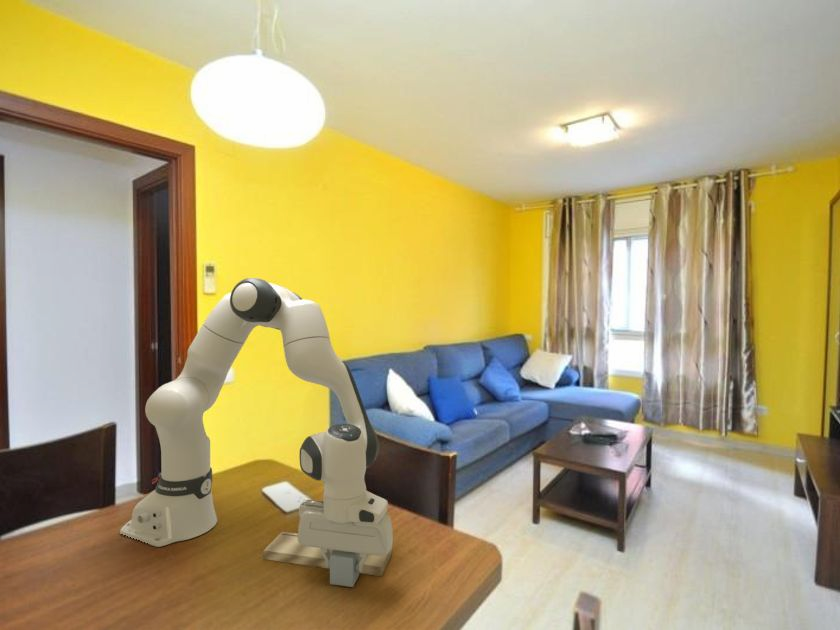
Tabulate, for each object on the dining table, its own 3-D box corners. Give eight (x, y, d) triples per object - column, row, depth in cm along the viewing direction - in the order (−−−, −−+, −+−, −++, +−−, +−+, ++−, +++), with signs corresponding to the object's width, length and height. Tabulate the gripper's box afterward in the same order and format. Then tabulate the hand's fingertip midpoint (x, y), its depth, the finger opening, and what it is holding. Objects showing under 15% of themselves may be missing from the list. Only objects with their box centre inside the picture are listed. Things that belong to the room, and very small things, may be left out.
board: (263, 558, 95) (263, 549, 95) (281, 539, 103) (281, 531, 103) (381, 576, 90) (381, 566, 90) (391, 554, 98) (391, 545, 98)
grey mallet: (329, 583, 87) (329, 555, 87) (350, 550, 99) (350, 525, 99) (352, 587, 86) (352, 558, 86) (370, 552, 98) (370, 527, 98)
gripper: (291, 506, 87) (292, 571, 87) (386, 516, 83) (386, 585, 83) (306, 492, 93) (306, 553, 93) (395, 501, 89) (394, 565, 89)
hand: (344, 568), depth 88 cm, fingers closed on grey mallet, 5 cm apart
